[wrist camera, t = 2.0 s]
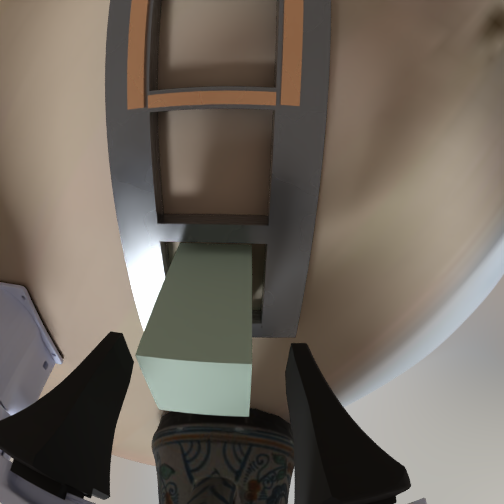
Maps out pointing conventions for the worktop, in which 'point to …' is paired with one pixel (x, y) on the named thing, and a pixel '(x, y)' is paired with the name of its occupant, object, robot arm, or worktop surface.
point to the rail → (224, 97)
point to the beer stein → (223, 458)
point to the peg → (202, 332)
